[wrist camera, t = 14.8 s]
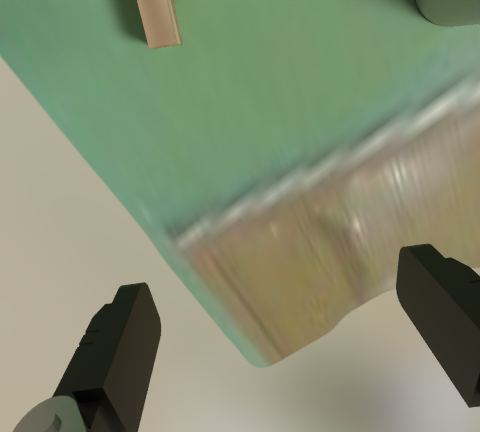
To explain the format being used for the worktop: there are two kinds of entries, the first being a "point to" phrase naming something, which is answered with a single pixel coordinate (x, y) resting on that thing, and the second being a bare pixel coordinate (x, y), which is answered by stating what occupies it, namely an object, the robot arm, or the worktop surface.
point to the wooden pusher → (160, 23)
